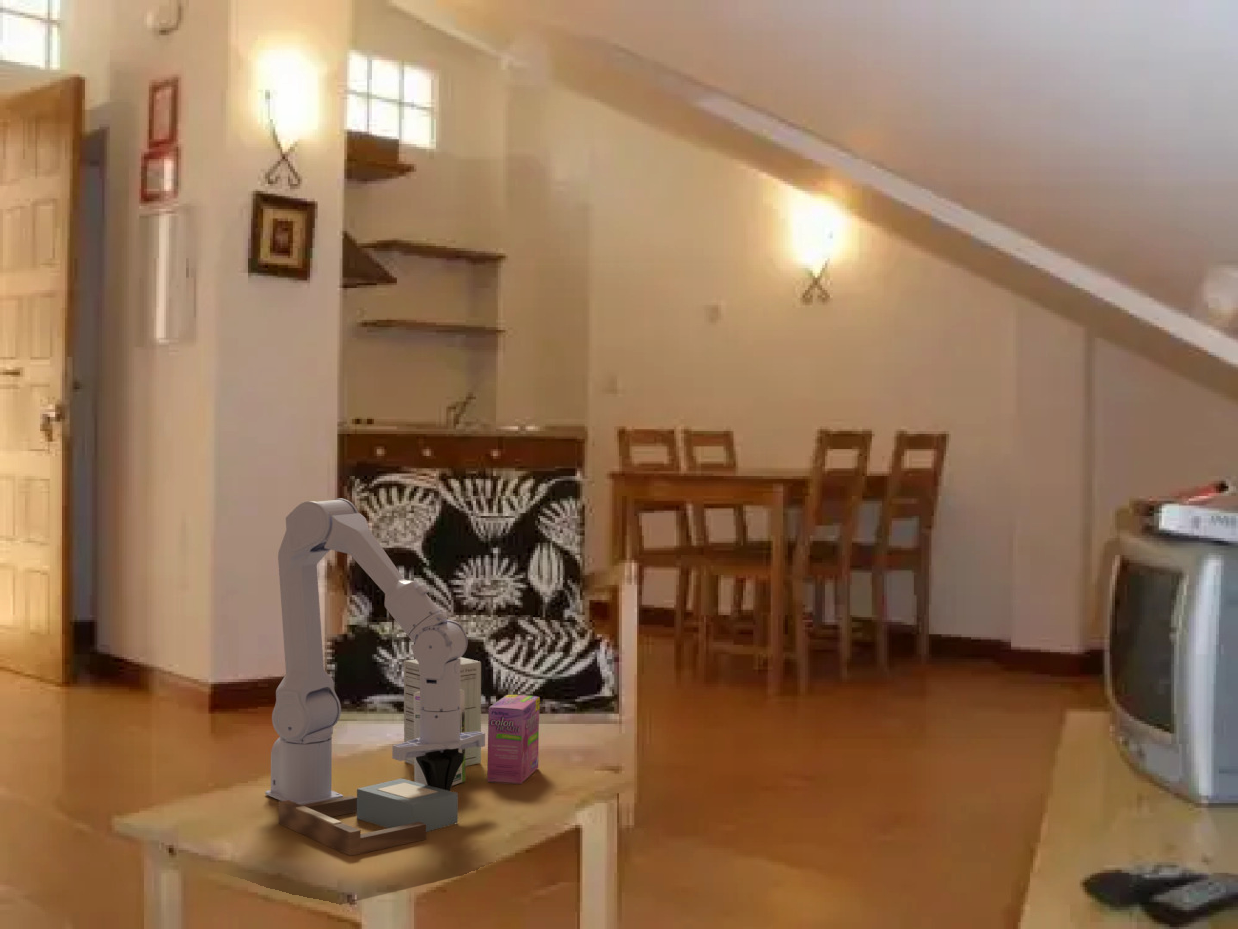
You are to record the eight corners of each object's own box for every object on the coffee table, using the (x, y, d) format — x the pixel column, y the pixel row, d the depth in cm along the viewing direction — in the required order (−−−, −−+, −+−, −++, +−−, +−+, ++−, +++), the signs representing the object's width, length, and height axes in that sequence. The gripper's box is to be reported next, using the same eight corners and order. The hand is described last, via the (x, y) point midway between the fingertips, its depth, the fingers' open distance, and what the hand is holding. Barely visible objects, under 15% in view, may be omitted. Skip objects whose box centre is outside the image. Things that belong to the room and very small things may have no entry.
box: (522, 785, 219) (522, 708, 219) (486, 782, 220) (487, 706, 220) (539, 769, 229) (540, 695, 229) (505, 767, 230) (505, 694, 230)
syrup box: (443, 790, 215) (444, 694, 215) (412, 785, 218) (412, 690, 218) (465, 782, 220) (466, 688, 220) (434, 777, 223) (435, 685, 223)
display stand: (278, 823, 196) (278, 800, 196) (351, 809, 204) (352, 787, 204) (350, 856, 182) (350, 831, 182) (425, 839, 190) (426, 815, 190)
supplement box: (449, 753, 239) (450, 653, 239) (482, 763, 233) (483, 660, 232) (401, 762, 233) (402, 659, 232) (434, 772, 226) (435, 667, 226)
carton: (356, 820, 199) (356, 788, 199) (401, 809, 205) (401, 777, 205) (413, 837, 191) (413, 803, 191) (457, 825, 197) (457, 792, 197)
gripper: (412, 719, 194) (411, 818, 195) (498, 706, 204) (497, 800, 204) (384, 711, 200) (383, 807, 200) (469, 698, 209) (468, 791, 209)
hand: (439, 803), depth 202 cm, fingers closed
